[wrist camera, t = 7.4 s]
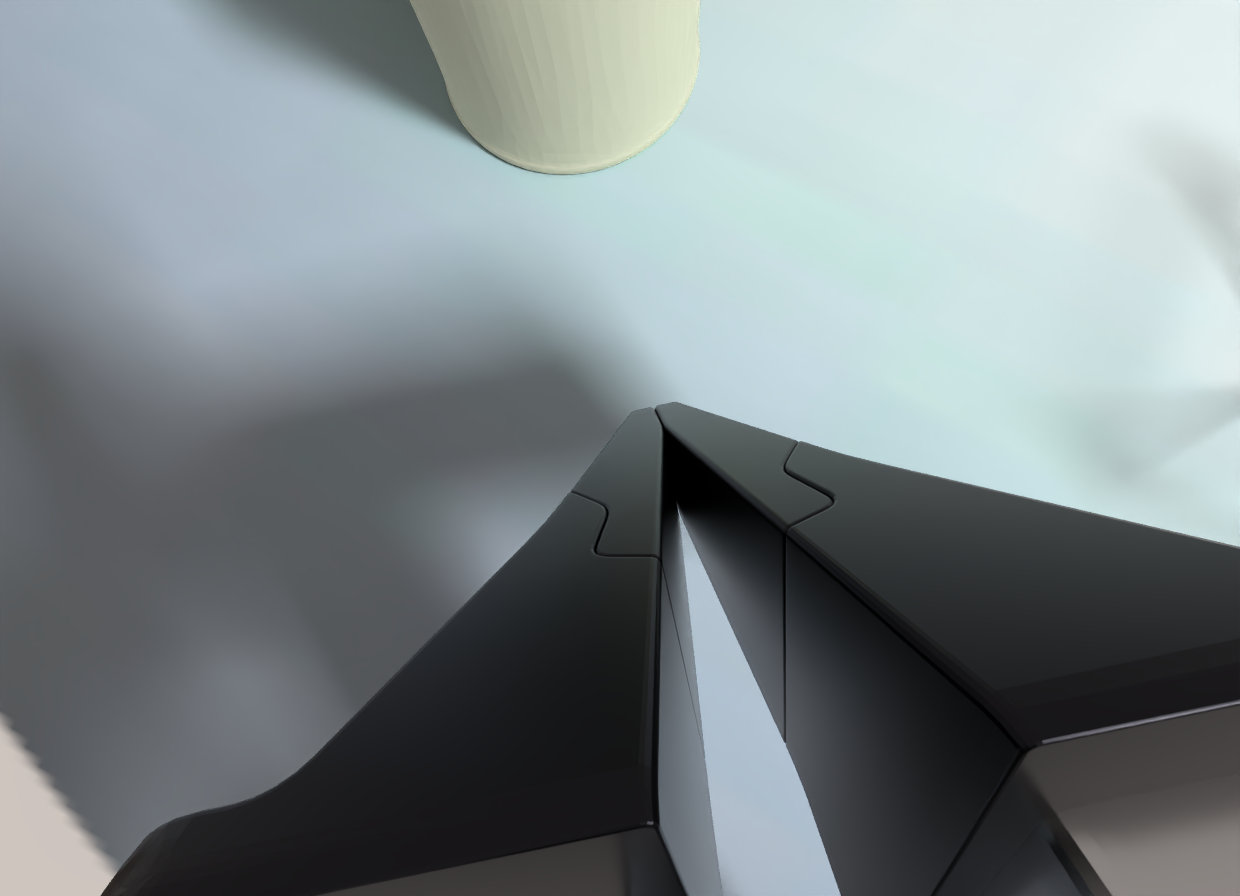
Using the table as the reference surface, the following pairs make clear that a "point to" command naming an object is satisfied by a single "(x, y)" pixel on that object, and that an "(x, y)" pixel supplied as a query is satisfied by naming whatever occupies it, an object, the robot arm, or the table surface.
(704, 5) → the table surface
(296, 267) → the table surface
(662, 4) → the can
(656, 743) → the robot arm
